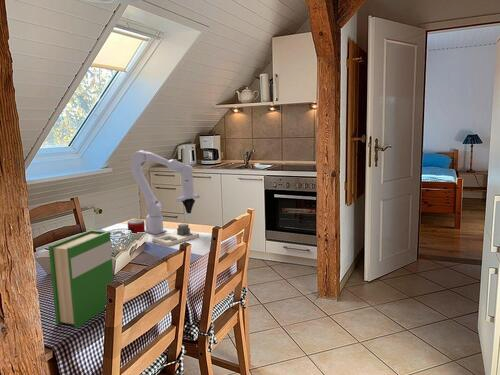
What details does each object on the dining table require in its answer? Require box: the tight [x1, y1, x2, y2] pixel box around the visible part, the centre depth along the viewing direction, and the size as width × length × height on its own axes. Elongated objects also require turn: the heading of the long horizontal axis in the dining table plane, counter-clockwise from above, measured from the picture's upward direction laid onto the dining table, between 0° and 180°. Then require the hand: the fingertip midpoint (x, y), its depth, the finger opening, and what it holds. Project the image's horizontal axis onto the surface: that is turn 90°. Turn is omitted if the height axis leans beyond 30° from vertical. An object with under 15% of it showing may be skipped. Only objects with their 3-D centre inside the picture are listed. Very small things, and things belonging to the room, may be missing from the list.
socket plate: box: [151, 230, 200, 247], centre depth 203 cm, size 12×20×2 cm, turn 139°
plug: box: [176, 223, 191, 236], centre depth 206 cm, size 4×4×6 cm
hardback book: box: [48, 229, 114, 329], centre depth 124 cm, size 18×7×24 cm, turn 162°
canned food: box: [127, 218, 146, 233], centre depth 197 cm, size 8×8×11 cm
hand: (188, 213), depth 216 cm, fingers closed
